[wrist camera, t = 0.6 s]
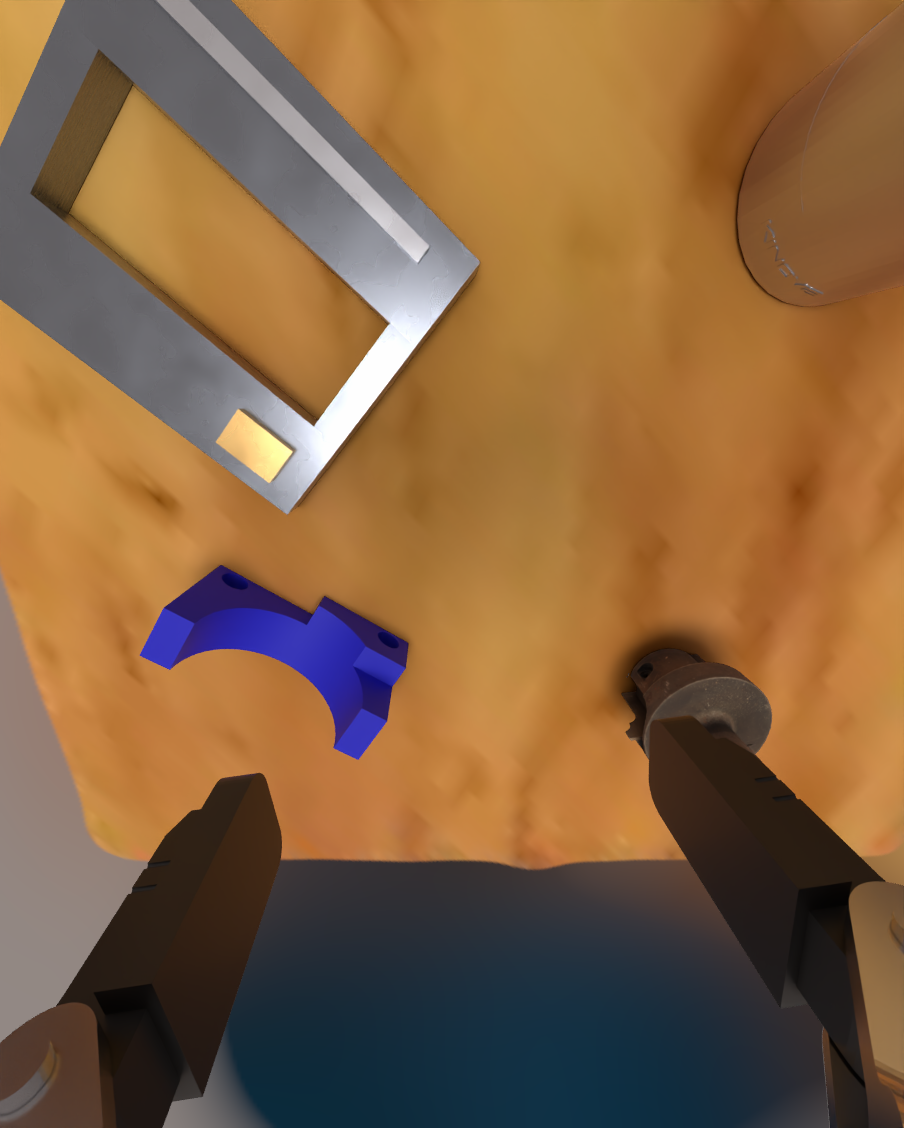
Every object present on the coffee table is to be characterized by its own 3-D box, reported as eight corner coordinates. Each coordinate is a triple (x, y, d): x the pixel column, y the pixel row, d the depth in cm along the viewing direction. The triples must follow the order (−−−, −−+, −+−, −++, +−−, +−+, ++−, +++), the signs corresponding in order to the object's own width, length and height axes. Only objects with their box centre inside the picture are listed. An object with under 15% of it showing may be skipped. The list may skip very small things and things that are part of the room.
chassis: (152, -62, 17) (106, -138, 15) (476, 274, 21) (481, 257, 19) (-8, 274, 21) (-66, 256, 18) (298, 506, 25) (283, 517, 23)
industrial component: (602, 725, 31) (697, 909, 20) (607, 634, 29) (720, 785, 17) (735, 714, 31) (905, 891, 20) (751, 623, 29) (957, 765, 17)
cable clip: (408, 641, 28) (402, 700, 23) (372, 691, 30) (358, 759, 24) (232, 543, 26) (176, 582, 20) (201, 603, 27) (139, 655, 21)
